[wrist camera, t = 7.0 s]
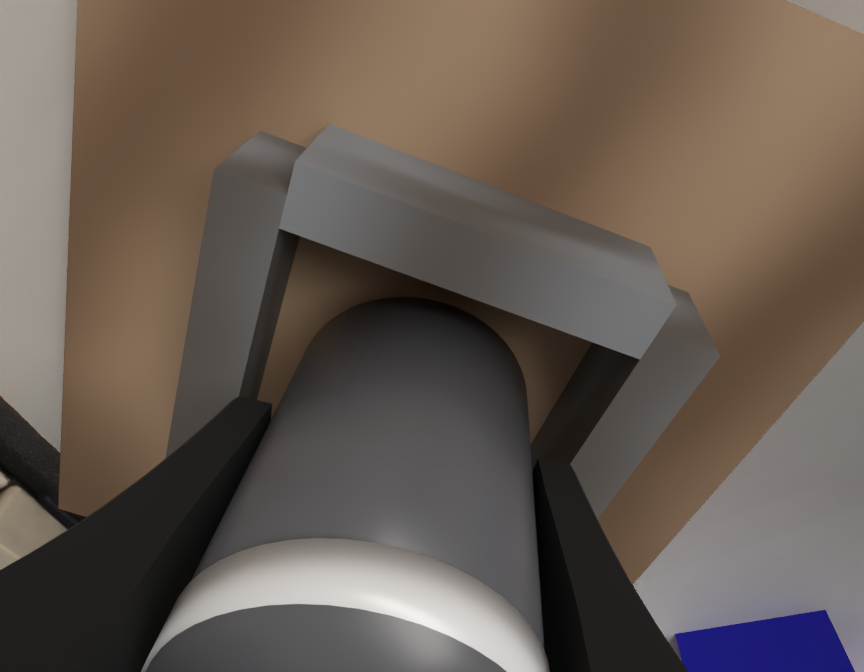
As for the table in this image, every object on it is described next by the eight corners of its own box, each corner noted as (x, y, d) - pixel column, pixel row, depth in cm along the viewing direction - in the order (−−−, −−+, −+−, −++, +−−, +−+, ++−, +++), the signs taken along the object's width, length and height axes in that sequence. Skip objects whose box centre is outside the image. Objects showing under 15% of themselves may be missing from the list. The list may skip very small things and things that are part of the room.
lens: (554, 316, 12) (610, 666, 6) (504, 503, 15) (508, 882, 9) (299, 274, 12) (103, 581, 6) (292, 467, 15) (148, 820, 9)
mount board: (998, 98, 12) (1164, 155, 9) (561, 627, 21) (570, 739, 18) (131, -282, 10) (-25, -369, 7) (81, 478, 20) (6, 575, 17)
